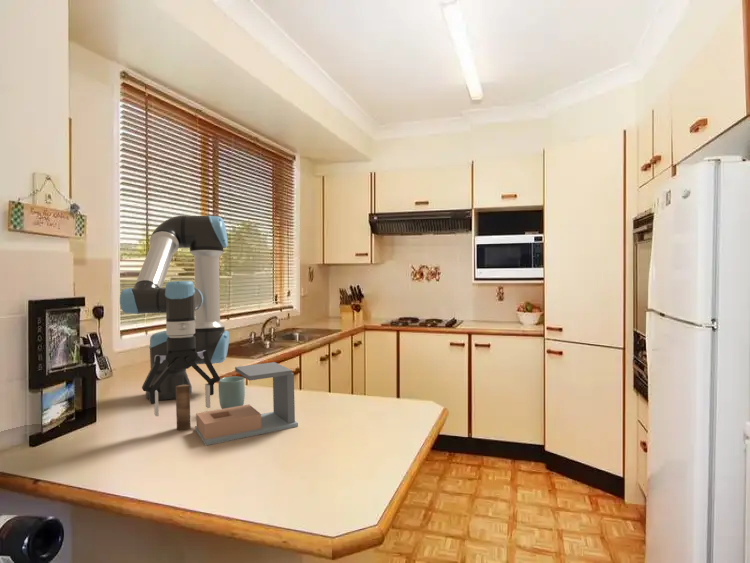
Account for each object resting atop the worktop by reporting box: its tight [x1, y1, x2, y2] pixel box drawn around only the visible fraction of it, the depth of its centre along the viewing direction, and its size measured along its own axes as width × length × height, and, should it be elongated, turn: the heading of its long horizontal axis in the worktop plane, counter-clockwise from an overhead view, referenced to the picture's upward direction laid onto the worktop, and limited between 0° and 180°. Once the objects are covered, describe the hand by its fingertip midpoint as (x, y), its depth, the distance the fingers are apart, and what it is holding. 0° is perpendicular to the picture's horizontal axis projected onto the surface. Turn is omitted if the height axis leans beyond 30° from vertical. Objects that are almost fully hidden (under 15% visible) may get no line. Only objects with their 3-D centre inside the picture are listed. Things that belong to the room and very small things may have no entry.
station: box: [194, 361, 299, 446], centre depth 130 cm, size 14×25×16 cm, turn 122°
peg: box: [175, 385, 192, 432], centre depth 131 cm, size 4×4×12 cm
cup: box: [217, 376, 246, 409], centre depth 147 cm, size 8×8×10 cm
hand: (182, 411), depth 131 cm, fingers open, 13 cm apart
